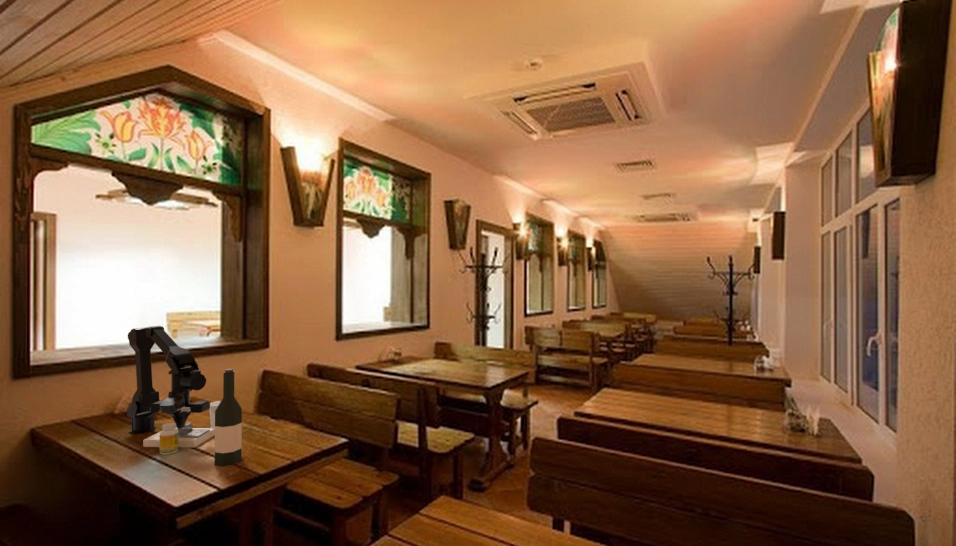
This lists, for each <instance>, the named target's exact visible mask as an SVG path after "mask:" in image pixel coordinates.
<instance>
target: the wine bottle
mask: <svg viewBox="0 0 956 546" xmlns="http://www.w3.org/2000/svg"><path fill="white" fill-rule="evenodd" d="M222 376H223V377H222V379H223V387H222V388H223V390H222V396H223V397H222V399H221V400H222V401H221V400H220V401H221V402H220V404H219V405H218V407H217V409H216V410H215V435H214V466H217V465H218V466H217V467H227V465H229V466H234V465H236V464H238V463H240V462H242V448H243V447H242V443H243V442H242V439H243V438H242V435H243V434H242V433H243V431H242V430H243V429H242V428H243V408H242V406H241V405H240V403H239V401H238V400H237V399H236V397H235V370H234V368H226V369H224V371H223V375H222Z"/></svg>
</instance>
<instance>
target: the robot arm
mask: <svg viewBox="0 0 956 546" xmlns="http://www.w3.org/2000/svg"><path fill="white" fill-rule="evenodd" d="M127 339H128V342H129V343H128V344H129V346H130V347H131V348H132V350H133V351H134V354H135V355H134V356H135V357H134V358H135V371H136V372H135V373H136V376H135V377H136V391H135V392H134V394H133V395H132V398H131V399H132V401H131V404H130V406H129V407H128V409H127V410H126V415H127V417H128V418H131V430H129V431H128V434H145V433H148V432H150V431H152V430H154V429H156V428H157V426H155V417H154V414H157V413H159V412H160V413H161V414H166V415H169V416H171V417H172V419H173V421H174V423H176V428H180V427H182V426H184V425H186V422H187V420H188V418H189V417H190V415H191V413H203V412H205V411H207V410H210V409H209V408H210V403H211V402H209V400H198V401H195V402H194V403H192V402H193V399H192V398H190V397H191V396H190V393H191V392H193V391H200V390H203V388H204V387H205V386H206V383H207V379H206V376H205V375H204V374H203V373H202V371H201V370H200V369H199V365H198V363H197V361H196V359H195V357H194V354H193V353H191V352H190V351H189V350H188V349H187V348H185V347H181V346H180V345H178V344H177V343H176V342H175V341H174V340H173V338H172V337H171V336H170V335H169V334H168V333H167V332H166V331H165V328H164V326H161V325H153V326H147V327H135V328H132V329H130V331H129V332H128V333H127ZM154 345H156V346H157V347H158V349H160V351H161V352H162V353H163V354H164V356H165V363H166V364H167V366H168V368H170V370H169V371H168V375H171V377H170V378H171V379H170V380H171V384H170V385H171V387H170V388H171V389H170V390H169V391H168V396H167V397H166V398H165V399H164V400H162V399H161V400H160V392H159V391H158V390H157V391H156V389H155V388H154V386H153V370H152V368H153V367H152V349H153V347H154Z"/></svg>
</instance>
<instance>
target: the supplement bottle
mask: <svg viewBox="0 0 956 546" xmlns="http://www.w3.org/2000/svg"><path fill="white" fill-rule="evenodd" d="M176 428H177V426H176V423H175V421H174V422H167V423H163V424H161V429H162V430H160V431H161V432H160V431H159V432H160V447H159V454H160V455H164V456H165V455H167V456H168V455H173V454H175V453H177V452H178V451H179V447H178V430H177V429H176Z"/></svg>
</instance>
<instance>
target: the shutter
mask: <svg viewBox="0 0 956 546" xmlns="http://www.w3.org/2000/svg"><path fill="white" fill-rule="evenodd" d="M193 424H194V423H193V422H189V421H188V422H187V423H185V424H184V426H182V427H180V428H178V429H177V430H178V437H189V438H198V437H200V436H202V435H203V434H205V433H207V432H208V431H210V429H192V428H193Z"/></svg>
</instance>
